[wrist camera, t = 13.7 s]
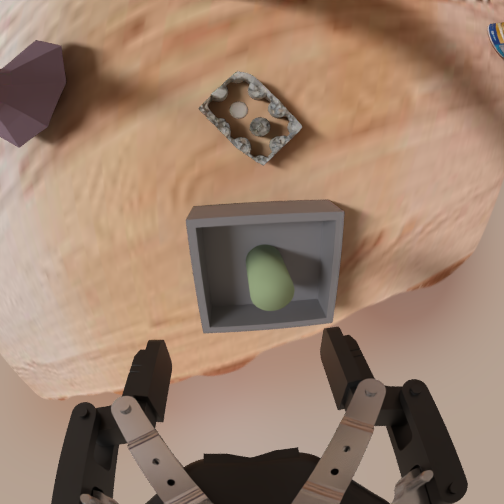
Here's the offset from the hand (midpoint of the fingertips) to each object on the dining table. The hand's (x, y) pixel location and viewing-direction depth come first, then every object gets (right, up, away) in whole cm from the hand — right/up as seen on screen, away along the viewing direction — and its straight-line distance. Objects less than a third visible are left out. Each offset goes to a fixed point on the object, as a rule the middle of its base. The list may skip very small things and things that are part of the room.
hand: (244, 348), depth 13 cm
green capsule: (+2, +3, +25) cm, 25 cm away
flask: (-31, +29, +13) cm, 44 cm away
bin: (+2, +4, +26) cm, 26 cm away
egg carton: (0, +21, +18) cm, 28 cm away
